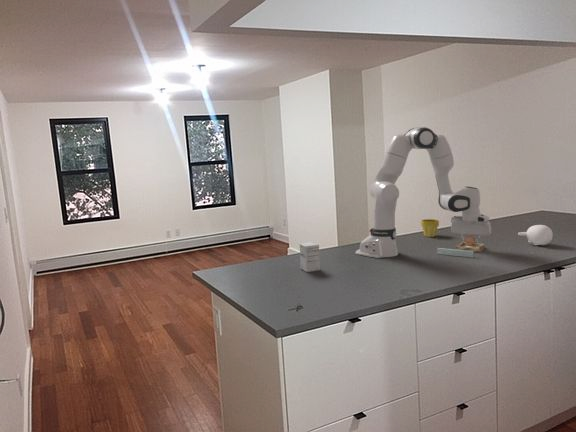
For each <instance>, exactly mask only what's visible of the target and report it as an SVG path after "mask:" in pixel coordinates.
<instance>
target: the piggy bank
mask: <svg viewBox="0 0 576 432" xmlns="http://www.w3.org/2000/svg"><path fill="white" fill-rule="evenodd" d="M517 235H518V236H521V237H522V236H525V237H526V238H527V240H528V241H527V242H528V243H531V244H533V246H534V245H542V246H545V245H548V244H550V243H551V241H552V239H553V235H554V234H553V230H552V228H550V227H549V226H547V225H545V224H536V225H535V224H534V225H532V226H530V227H528V229H526V231H522V232H518V233H517Z"/></svg>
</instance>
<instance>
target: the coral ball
mask: <svg viewBox="0 0 576 432" xmlns="http://www.w3.org/2000/svg"><path fill="white" fill-rule="evenodd" d="M465 241H466V244H467V245H474V244H475V237H474V236H473V235H472V236H471V235H469V236H467V237H466V240H465Z"/></svg>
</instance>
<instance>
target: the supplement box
mask: <svg viewBox="0 0 576 432" xmlns="http://www.w3.org/2000/svg"><path fill="white" fill-rule="evenodd" d="M299 258H300V260H299V261H300V262H299V263H300V269H301V270H303V271H304V272H306V273H309V272H317V271H320V270H321V268H320V266H321V265H320V263H321V262H320V245H319V244H318V243H315V242H313V241H310V242H309V241H308V242H302V243H299Z"/></svg>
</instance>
